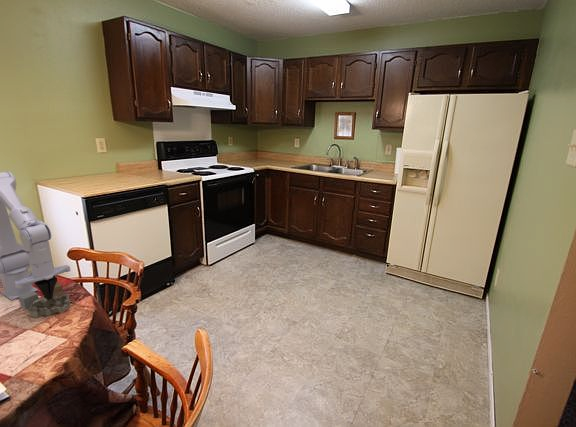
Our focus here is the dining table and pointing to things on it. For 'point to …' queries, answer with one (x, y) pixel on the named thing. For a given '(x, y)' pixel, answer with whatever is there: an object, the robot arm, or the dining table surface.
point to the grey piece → (45, 303)
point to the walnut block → (58, 290)
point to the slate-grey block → (28, 299)
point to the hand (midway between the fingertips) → (48, 298)
